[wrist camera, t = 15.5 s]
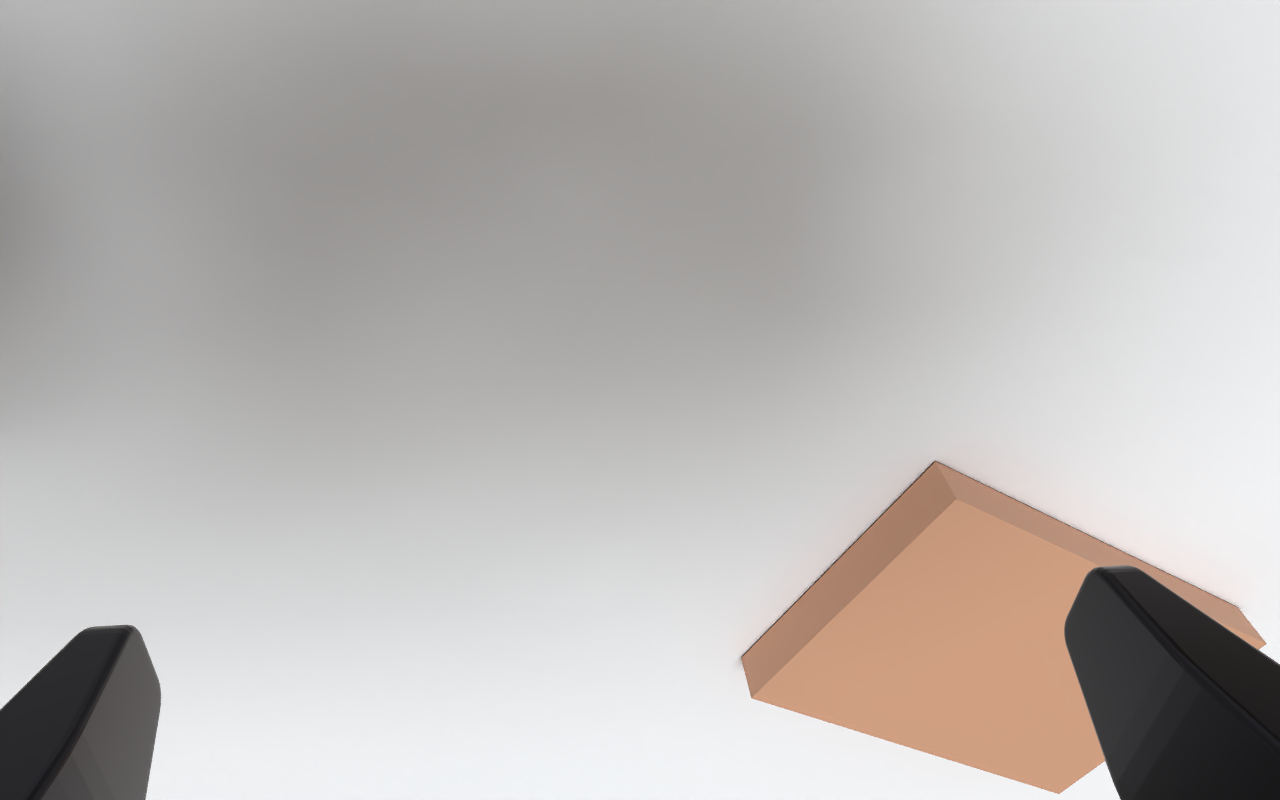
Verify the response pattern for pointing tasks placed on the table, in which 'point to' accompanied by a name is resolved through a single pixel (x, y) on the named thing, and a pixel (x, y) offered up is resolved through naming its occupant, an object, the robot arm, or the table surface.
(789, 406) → the table surface
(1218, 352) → the table surface
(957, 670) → the peach flat block
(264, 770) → the table surface
